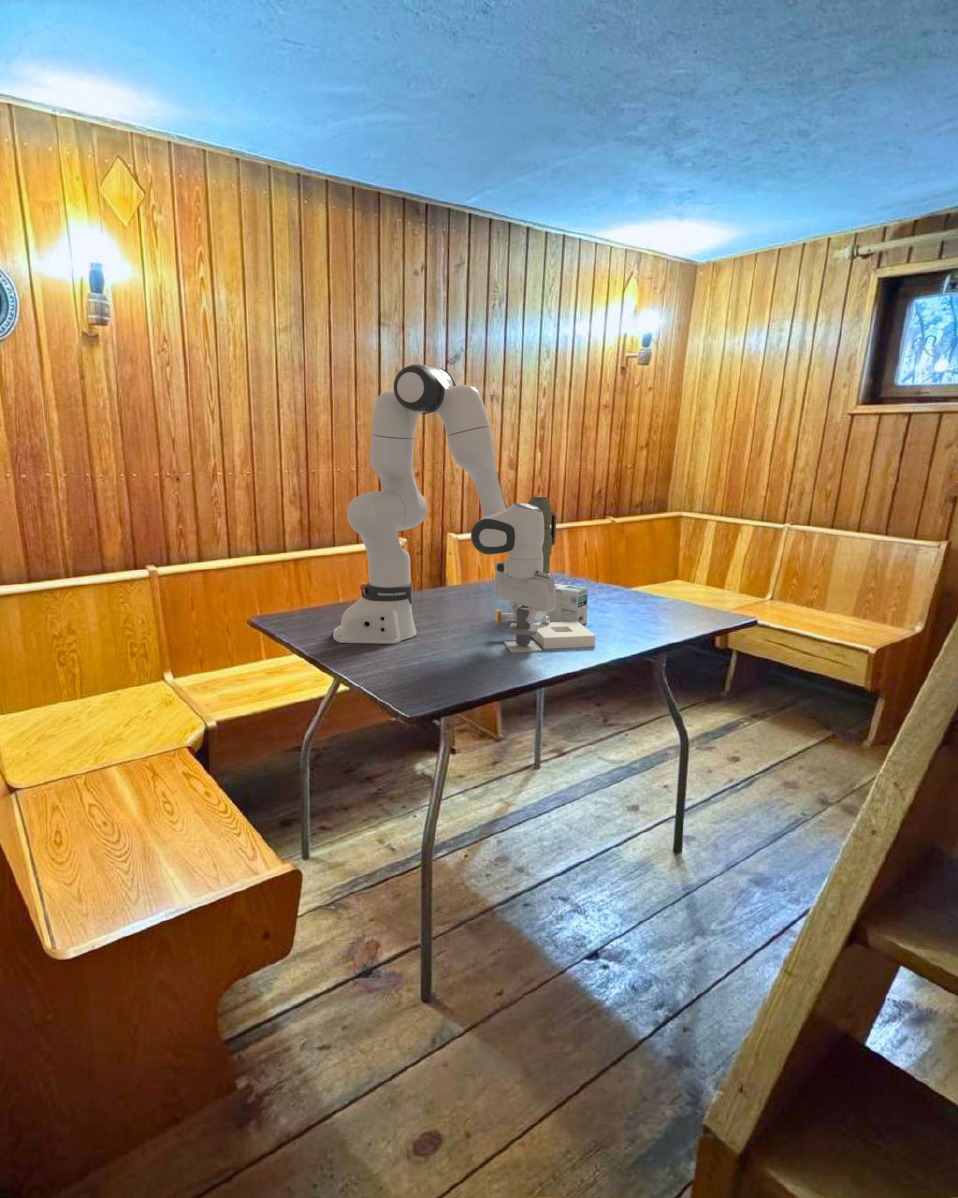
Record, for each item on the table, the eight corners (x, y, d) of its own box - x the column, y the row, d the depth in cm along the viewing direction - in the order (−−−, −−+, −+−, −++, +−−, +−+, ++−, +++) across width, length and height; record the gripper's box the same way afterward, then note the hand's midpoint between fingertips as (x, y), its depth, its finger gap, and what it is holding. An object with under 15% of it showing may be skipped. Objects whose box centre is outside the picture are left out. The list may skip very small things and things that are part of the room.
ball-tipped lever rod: (547, 621, 190) (548, 606, 189) (550, 623, 188) (551, 608, 187) (494, 624, 186) (495, 609, 185) (497, 627, 184) (497, 611, 182)
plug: (507, 646, 174) (508, 612, 172) (510, 638, 181) (511, 605, 179) (535, 648, 173) (536, 613, 171) (537, 640, 180) (538, 607, 178)
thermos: (512, 606, 220) (515, 496, 212) (542, 602, 226) (546, 495, 218) (528, 612, 212) (531, 499, 204) (558, 608, 218) (563, 498, 210)
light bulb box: (587, 623, 202) (589, 587, 199) (577, 628, 196) (579, 591, 194) (555, 617, 207) (556, 582, 205) (544, 622, 202) (545, 586, 199)
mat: (511, 652, 173) (511, 651, 172) (504, 643, 180) (504, 641, 180) (542, 651, 174) (542, 649, 174) (533, 642, 182) (533, 640, 182)
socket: (543, 648, 176) (544, 637, 176) (529, 633, 190) (529, 623, 189) (594, 646, 179) (595, 635, 178) (577, 631, 192) (577, 621, 192)
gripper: (563, 573, 166) (560, 628, 170) (508, 561, 182) (507, 611, 185) (544, 576, 162) (542, 632, 166) (490, 563, 178) (489, 614, 181)
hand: (523, 621), depth 176 cm, fingers closed on plug, 3 cm apart
